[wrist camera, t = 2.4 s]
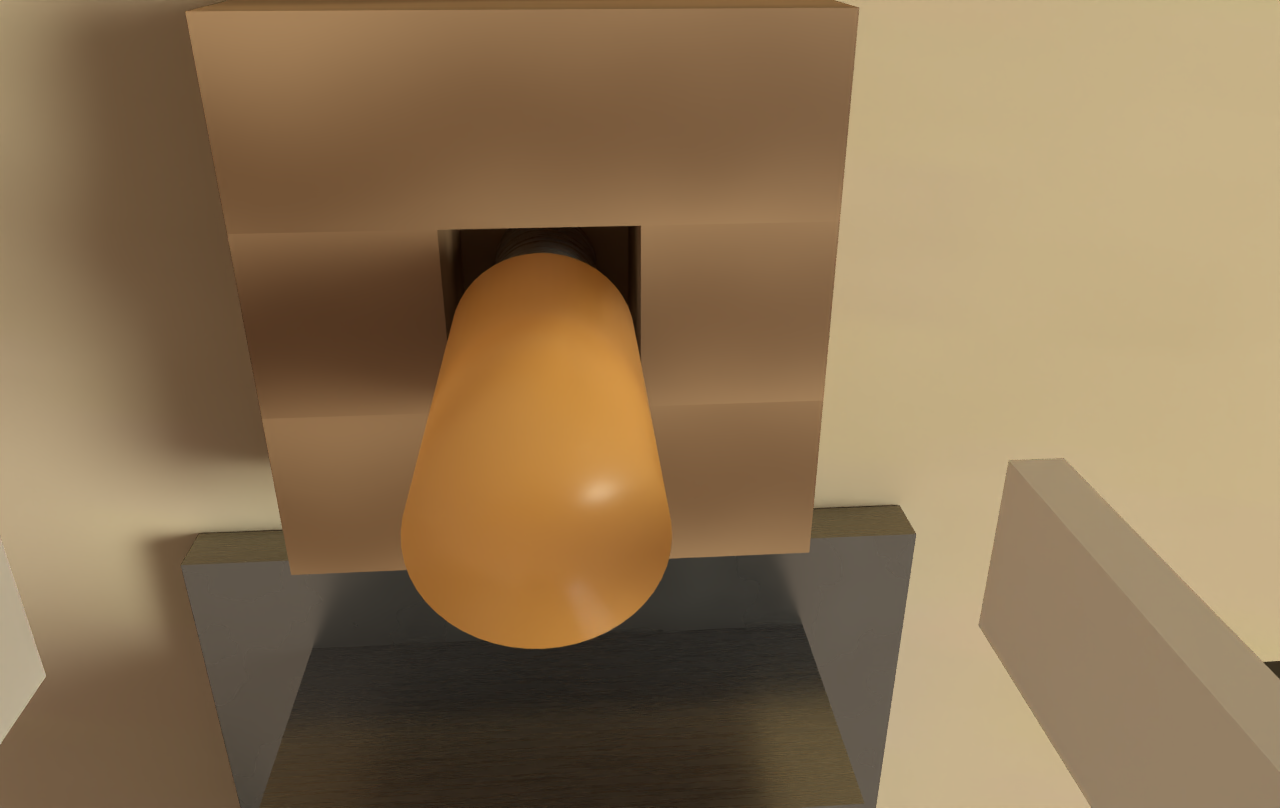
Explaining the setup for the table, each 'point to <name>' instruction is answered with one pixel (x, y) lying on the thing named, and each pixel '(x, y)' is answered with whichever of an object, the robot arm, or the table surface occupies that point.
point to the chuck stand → (561, 683)
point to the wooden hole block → (531, 198)
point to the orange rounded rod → (538, 456)
